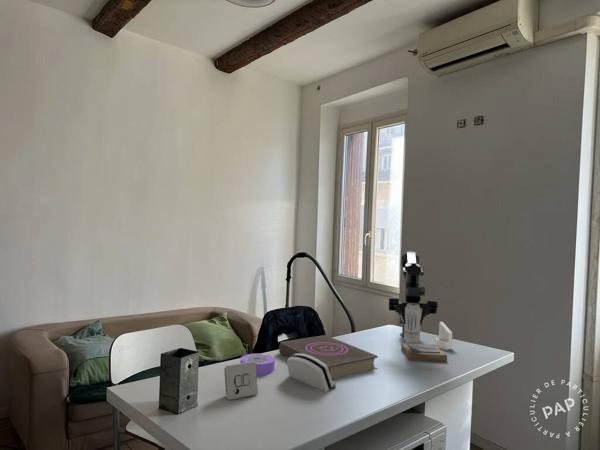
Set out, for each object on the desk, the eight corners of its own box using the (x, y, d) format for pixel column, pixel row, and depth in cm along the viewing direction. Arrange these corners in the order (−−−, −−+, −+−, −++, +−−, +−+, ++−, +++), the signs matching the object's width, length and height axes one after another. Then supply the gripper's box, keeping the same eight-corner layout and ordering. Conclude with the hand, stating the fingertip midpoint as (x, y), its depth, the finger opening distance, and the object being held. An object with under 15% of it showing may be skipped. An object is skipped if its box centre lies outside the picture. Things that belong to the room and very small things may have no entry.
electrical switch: (228, 401, 120) (228, 367, 121) (221, 396, 125) (221, 363, 125) (258, 395, 125) (258, 362, 126) (251, 390, 129) (250, 359, 130)
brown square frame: (401, 349, 176) (401, 341, 176) (435, 350, 175) (435, 343, 175) (409, 360, 162) (410, 352, 162) (446, 361, 161) (447, 353, 161)
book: (377, 369, 151) (377, 355, 151) (327, 381, 139) (327, 366, 139) (325, 347, 177) (325, 334, 177) (278, 355, 164) (279, 342, 164)
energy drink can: (403, 343, 166) (404, 305, 165) (404, 339, 171) (406, 302, 171) (419, 345, 164) (420, 306, 163) (420, 341, 169) (421, 303, 169)
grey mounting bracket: (337, 387, 133) (331, 359, 130) (327, 396, 130) (321, 368, 127) (299, 372, 145) (293, 346, 142) (289, 380, 141) (283, 354, 139)
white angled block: (434, 336, 188) (442, 321, 184) (448, 353, 180) (457, 338, 176) (428, 337, 186) (436, 322, 182) (442, 354, 178) (450, 339, 174)
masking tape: (263, 361, 155) (263, 351, 155) (280, 371, 145) (281, 360, 145) (234, 367, 148) (234, 356, 148) (250, 378, 139) (251, 366, 139)
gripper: (389, 277, 173) (388, 310, 162) (438, 280, 169) (440, 314, 158) (389, 293, 181) (387, 326, 170) (435, 296, 177) (437, 330, 166)
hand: (412, 324), depth 166 cm, fingers closed on energy drink can, 6 cm apart
